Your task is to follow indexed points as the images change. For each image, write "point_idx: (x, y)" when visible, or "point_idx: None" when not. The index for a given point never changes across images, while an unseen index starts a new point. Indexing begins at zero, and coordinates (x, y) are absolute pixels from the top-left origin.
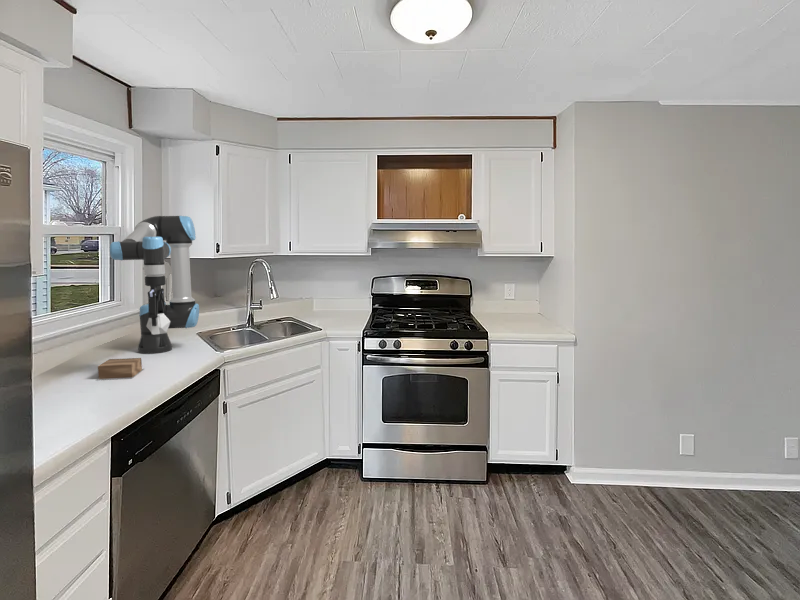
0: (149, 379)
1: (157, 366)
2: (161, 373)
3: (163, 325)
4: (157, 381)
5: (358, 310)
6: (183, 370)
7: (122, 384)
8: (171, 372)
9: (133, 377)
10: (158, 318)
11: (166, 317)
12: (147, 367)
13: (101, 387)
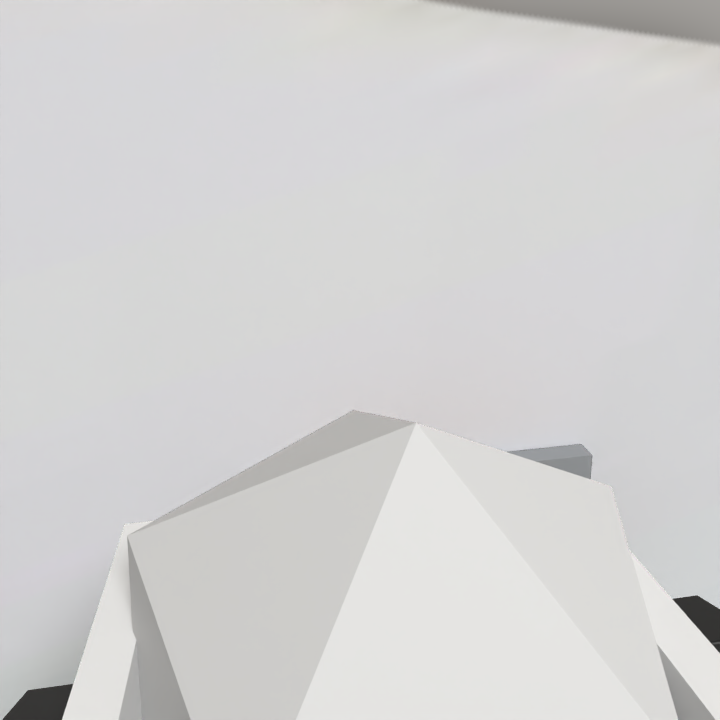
0: (535, 341)
1: (48, 448)
2: (338, 314)
3: (580, 490)
4: (618, 251)
5: None
6: (238, 134)
7: (637, 480)
8: (311, 233)
9: (554, 459)
10: (711, 707)
11: (385, 611)
12: (88, 518)
13: (678, 576)
